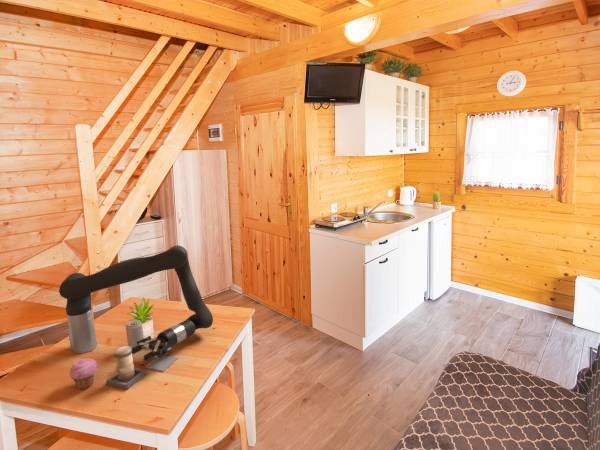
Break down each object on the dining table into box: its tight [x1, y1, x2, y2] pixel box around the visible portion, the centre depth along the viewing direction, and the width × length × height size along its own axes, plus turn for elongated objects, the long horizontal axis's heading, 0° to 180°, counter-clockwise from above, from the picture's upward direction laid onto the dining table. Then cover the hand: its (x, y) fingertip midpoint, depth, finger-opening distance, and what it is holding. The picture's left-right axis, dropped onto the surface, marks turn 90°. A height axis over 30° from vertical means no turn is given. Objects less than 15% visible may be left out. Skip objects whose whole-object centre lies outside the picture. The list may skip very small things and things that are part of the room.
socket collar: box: [105, 367, 147, 390], centre depth 137 cm, size 10×10×2 cm
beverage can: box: [125, 319, 145, 348], centre depth 158 cm, size 6×6×12 cm
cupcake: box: [69, 358, 98, 390], centre depth 134 cm, size 9×9×10 cm
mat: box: [143, 355, 178, 373], centre depth 147 cm, size 9×9×1 cm
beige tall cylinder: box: [113, 345, 136, 383], centre depth 136 cm, size 6×6×12 cm
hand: (137, 355), depth 140 cm, fingers open, 8 cm apart
